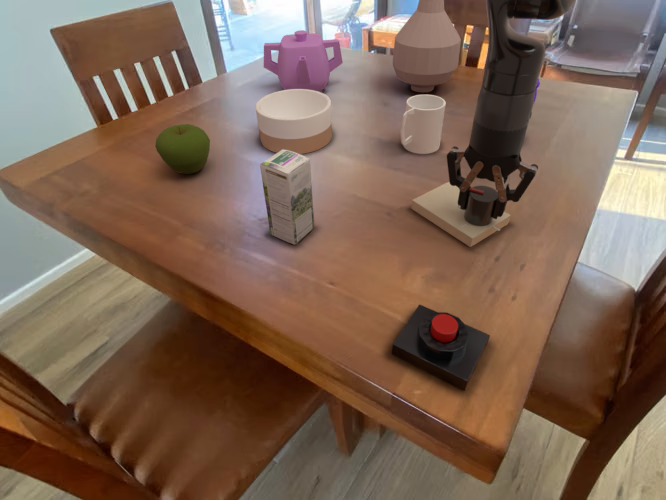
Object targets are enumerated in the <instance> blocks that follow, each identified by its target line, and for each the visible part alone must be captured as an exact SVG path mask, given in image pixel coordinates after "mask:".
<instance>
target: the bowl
mask: <svg viewBox="0 0 666 500" xmlns="http://www.w3.org/2000/svg"><path fill="white" fill-rule="evenodd" d="M255 113H256V114H255V115H256V120H257V127H258V131H259V138H260V139H259V140H260V143H261V144H262V146H263V147H264V148H265V149H266V150H268V151H271V152H273V153H275V154H277V153H278V152H280V151H281V150H282V149H284V150H289V151H292V152H295V153H298V154H300V155H303V154H308V153H309V154H310V153H312V152H316V151H319V150H321V149H324V147H326V146H328V144H330V142H331V141H332V139H333V121H332V120H333V119H332V118H333V115H332V114H333V111H332V101H331V98H330V97H329V96H328V95H327V94H325V93H323V92H318V91H314V90H308V89H289V90H284V89H282V90H278V91H274V92H271V93H269V94H266V95H264V96H263V97H261V98H260V99H259V100H258V101H257V102H256V104H255Z"/></svg>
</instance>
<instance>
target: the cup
mask: <svg viewBox="0 0 666 500" xmlns="http://www.w3.org/2000/svg"><path fill="white" fill-rule="evenodd" d="M446 106H447V103H446V100H445V99H444V98H443V97H440V96H439V95H435V94H416V95H413V96H409V97H408V98H407V99H406V104H405V112H404V113H403V115H402V119H401V123H400V129H399V130H400V144H401V145H402V146H403V148H404V149H405V150H406V151H408V152H410V153H413V154H418V155H426V154H427V155H429V154H433V153H435V152H437V151H438V150H439V149H440V146H441V141H442V140H441V139H442V132H443V125H444V119H445V111H446Z"/></svg>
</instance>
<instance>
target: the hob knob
mask: <svg viewBox="0 0 666 500" xmlns="http://www.w3.org/2000/svg"><path fill="white" fill-rule="evenodd" d="M498 198H499V197H498V191H497V190H496V188H493V187H490V186H488V185H475V186H471V188H470V189H469V193H468V198H467V202H466V207H465V212H464V219H465V220H466V221H467V222H468V223H470V224H472V225H475V226H486V225H489V224H490V223H491V222H492V220H493V218H492V217H493V213H494V209H495V205H496V202H497V199H498Z"/></svg>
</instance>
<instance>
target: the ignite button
mask: <svg viewBox="0 0 666 500" xmlns="http://www.w3.org/2000/svg"><path fill="white" fill-rule="evenodd" d="M457 330H458V323H457V321H456V320H455V319H454V318H453V317H452V316H450V315H446V314H440V315H437V316H435V317H434V318H433V320H432V324H431V329H430V332H431V335H432V337H433V338H434V339H435V340H437V341H439V342H442V343H448V342H451V341H453V340H454V339H455V337H456V334H457Z"/></svg>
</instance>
